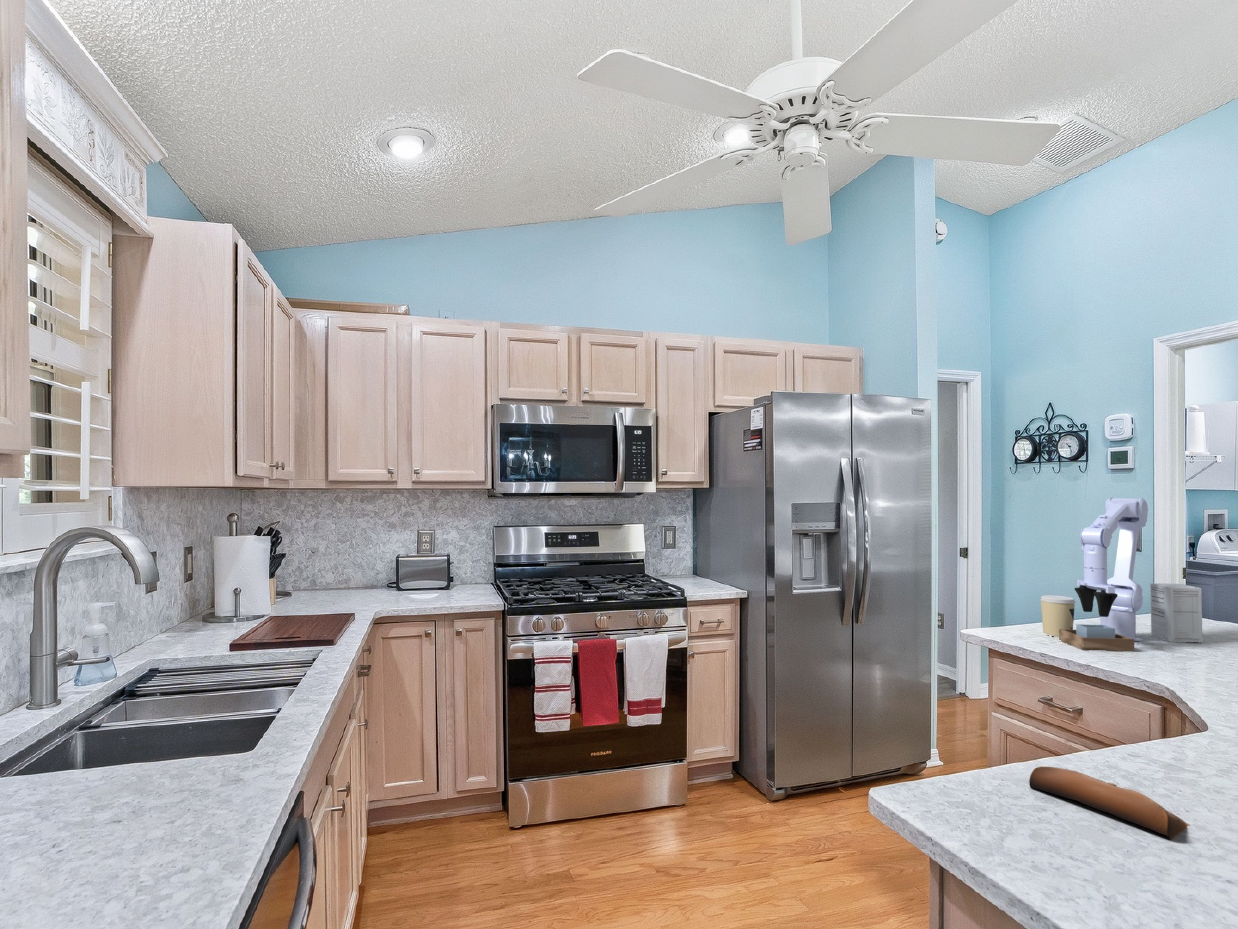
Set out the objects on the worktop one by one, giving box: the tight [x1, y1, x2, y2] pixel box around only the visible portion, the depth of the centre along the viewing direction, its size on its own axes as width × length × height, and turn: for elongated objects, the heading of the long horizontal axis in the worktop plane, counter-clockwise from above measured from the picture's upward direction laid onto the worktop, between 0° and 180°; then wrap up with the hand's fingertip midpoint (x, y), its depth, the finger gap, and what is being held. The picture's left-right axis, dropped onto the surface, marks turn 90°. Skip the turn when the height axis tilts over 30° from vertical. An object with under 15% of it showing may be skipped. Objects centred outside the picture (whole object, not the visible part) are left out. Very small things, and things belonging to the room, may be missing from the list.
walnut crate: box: [1058, 629, 1135, 652], centre depth 202 cm, size 12×14×4 cm
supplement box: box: [1149, 583, 1203, 644], centre depth 213 cm, size 10×9×17 cm
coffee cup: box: [1039, 594, 1076, 638], centre depth 216 cm, size 9×9×12 cm
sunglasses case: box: [1028, 766, 1190, 841], centre depth 99 cm, size 18×7×7 cm, turn 32°
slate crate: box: [1075, 623, 1115, 638], centre depth 202 cm, size 5×8×5 cm, turn 87°
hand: (1095, 614), depth 202 cm, fingers open, 7 cm apart
